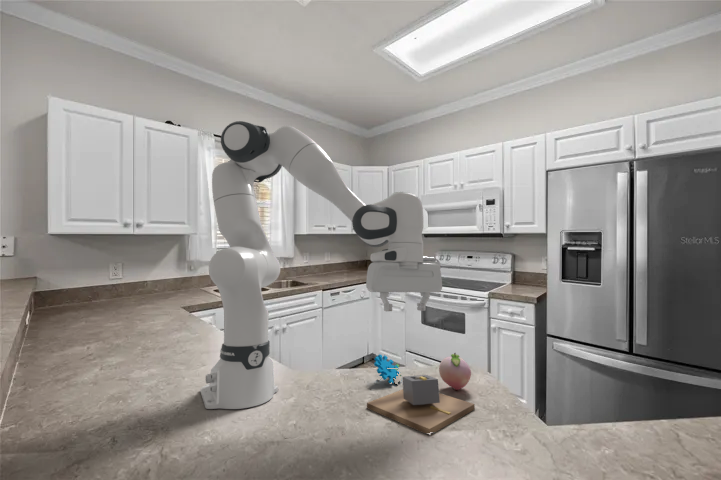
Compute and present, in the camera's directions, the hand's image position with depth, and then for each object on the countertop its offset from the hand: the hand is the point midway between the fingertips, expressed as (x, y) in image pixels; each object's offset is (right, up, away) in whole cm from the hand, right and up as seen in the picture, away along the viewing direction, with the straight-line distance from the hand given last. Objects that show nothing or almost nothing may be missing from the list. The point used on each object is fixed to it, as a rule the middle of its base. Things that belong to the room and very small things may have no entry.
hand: (405, 310), depth 80 cm
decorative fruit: (+15, -24, +8) cm, 29 cm away
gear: (-3, -25, +15) cm, 29 cm away
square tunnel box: (+3, -20, -5) cm, 21 cm away
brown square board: (+3, -22, -4) cm, 23 cm away
